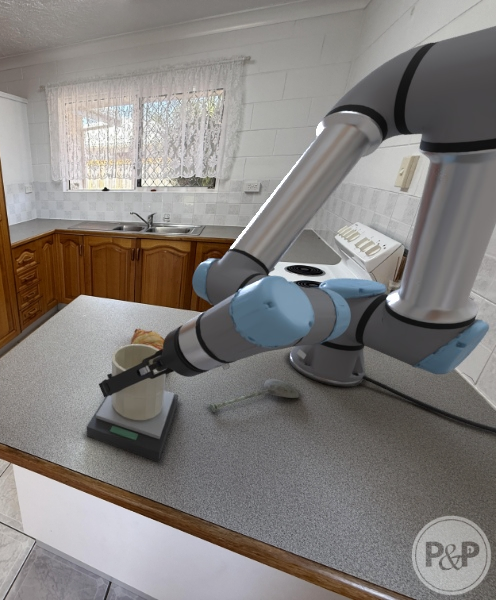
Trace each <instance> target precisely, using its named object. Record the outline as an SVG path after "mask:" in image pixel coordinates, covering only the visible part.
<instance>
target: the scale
mask: <svg viewBox="0 0 496 600" xmlns="http://www.w3.org/2000/svg"><path fill="white" fill-rule="evenodd" d="M178 402H179V394H175V392H172V391H168V390H166V389H165V390H164V401H163V407H162V410H161V412H160V413H159V414H157V415H156V416H155V417H153V418H150V419H147V420H132V419H129V418H126V417H124V416H122V415H121V414H119V413H118V412H117V411H116V410H115V409H114V407H113V405H112V395H111V396H110V395H109V396H107V397H104V399H103V400H102V402H101V404H100V405H99V407H98V409H97V410H96V411H95V413H94V414H93V416H92V418H91V419H90V421H89V422H88V424H87V425H86V437H88V438H91V439H94V440H96V441H100V442H101V443H104V444H108V445H110V446H113V447H116V448H117V449H118V448H119V449H121V450H124V451H127V452H129V453H132V454H135V455H138V456H141V457H143V458H146V459H148V460H151V461H154V462H156V463H160V459H161V456H162V453H163V449H164V447H165V444H166V440H167V437H168V434H169V431H170V428H171V424H172V423H173V422H172V421H173V419H174V415H175V412H176V409H177V406H178Z"/></svg>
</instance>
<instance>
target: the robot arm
mask: <svg viewBox="0 0 496 600" xmlns="http://www.w3.org/2000/svg"><path fill="white" fill-rule="evenodd" d="M315 135H316V137H315V139H314V140H313V141H312V142H311V144H310V145H309V146H308V148H307V149H306V150H305V151H304V153H303V154H302V155H301V157H300V158H299V159H298V160H297V161H296V163H295V164H294V165H293V167H292V168H291V170H289V172H288V173H287V175H286V176H284V178H283V179H282V181H281V182H280V184H279V185H278V186H277V187H276V189H274V191H273V193H271V195H270V197H269V198H268V199H267V200H266V201H265V203H264V204H263V205H262V206H261V207H260V209H259V210H258V212H257V213H256V214H255V216H254V217H253V218H252V219H251V221H250V222H249V223H248V224H247V226H246V227H245V228H244V230H243V231H242V232H241V234H240V235H239V236H238V237H237V238H236V239H235V241H234V242H233V244H232V245H231V246H230V248H229V249H228V250H227V251H226V252H225V254H224V255H223V256H222V257H221V258H213V257H212V258H207V259H206V260H204V261H203V262H201V263H200V264H198V266H197V267H196V269H195V270H194V273H193V275H192V281H191V282H192V283H191V285H192V288H193V291H194V292H195V295H197V296H198V297H200V298H201V299H203V300H204V301H206V302H208V303H209V305H211V306H212V307H211V308H209V309H207V310H206V311H202V312H200V313H199V314H197V315H196V316H194V317H192V318H191V319H189V320H187V321H186V322H184V323H183V324H181V325H180V326H177V327H176V328H174V329H173V330H171V331H169V332H168V333H167V334H166V336H165V338H164V343H163V349H161V350H159V351H157V352H156V353H155V354H154V355H152V356H150V357H148V358H145V359H144V360H143V361H142V362H141V363H140V364H138V365H136V366H134V367H132V368H130V369H128V370H126V371H124V372H122V373H120V374H117V375H115V376H112V372H111V373H108V374H106V376H107V379H103V380H102V381H101V382H99V383H98V386H99V388H100V391H101V394H102V396H103V398H105V397H107V396H109V395H110V396H111V395H112V394H114V393H116V392H119V391H121V390H122V389H124V388H127V387H129V386H131V385H133V384H136V383H138V382H140V381H142V380H145V379H147V378H150V379H154V378H156V377H158V376H161V375H163V374H166V375H169V374H171V373H174V372H175V373H176V374H178V375H180V376H182V377H186V378H191V377H195V376H199V375H202V374H204V373H207V372H209V371H211V370H214V369H217V368H220V367H221V368H222V369H223V370H229V369H230V368H231V365H230V364H231V363H235V362H237V361H240V360H243V359H246V358H249V357H252V356H256V355H259V354H262V353H268V352H272V351H273V352H274V351H279V350H283V349H289V348H292V349H291V351H290V354H289V359H288V361H289V363H290V365H291V366H292V367H293V368H294V369H295V370H296V372H299V373H300V374H301V375H303V376H305V377H307V378H308V379H311V380H313V381H315V382H319V383H322V384H325V385H327V386H328V385H329V386H333V387H342V388H348V387H349V388H351V387H355V386H358V385H360V384H361V383H362V382H363V381H366V382H369V383H371V384H373V385H375V386H378V387H379V388H382V389H384V390H386V391H388V392H389V393H392V394H393V395H396V396H399V397H400V398H402V399H404V400H407V401H409V402H412V403H414V404H416V405H418V406H420V407H423V408H425V409H428V410H430V411H432V412H434V413H437V414H439V415H442V416H445V417H447V418H450V419H452V420H455V421H457V422H460V423H463V424H466V425H469V426H472V427H475V428H478V429H482V430H485V431H488V432H491V433H495V434H496V427H494V426H490V425H487V424H483V423H480V422H476V421H473V420H471V419H467V418H464V417H461V416H460V415H459V416H458V415H456V414H453V413H450V412H448V411H445V410H442V409H440V408H438V407H436V406H433V405H430V404H428V403H426V402H424V401H421V400H419V399H416V398H415V397H412V396H410V395H407V394H405V393H404V392H401V391H399V390H398V389H397V390H396V389H394V388H393V387H392V386H391V387H390V386H388V385H386V384H384V383H381V382H380V381H377V380H375V379H373V378H371V377H369V376H366V375H365V374H366V367H365V356H364V348H365V347H367V348H368V349H369V348H370V349H372V350H374V351H377V352H379V353H381V354H383V355H386V356H388V357H390V358H393V359H395V360H397V361H400V362H402V363H405V364H407V365H409V366H411V367H412V368H416V369H417V368H418V369H420V370H423V371H426V372H428V373H431V374H433V375H446V374H449V373H451V372H452V371H454V370H455V369H456V368H457V367H458V366H460V365H461V364H462V363H463V362H464V361H465V360H466V359H467V358H468V356H470V355H471V353H473V351H475V349H476V348H477V346H479V344H480V343H481V342H482V341H483V339H484V338H485V336H486V335H487V333H488V332H489V329H490V324H489V323H488V322H487V321H484V320H483V319H478V318H476V317H477V315H478V313H479V306H478V304H477V303H476V301H475V300H473V299H472V298H470V295H471V292H472V290H473V287H474V285H475V282H476V279H477V276H478V274H479V270H480V267H481V265H482V264H483V260H484V258H485V255H486V252H487V249H488V246H489V243H490V242H491V241H490V240H491V238H492V236H493V233H494V230H495V227H496V25H494V26H490V27H485V28H483V29H479V30H476V31H472V32H468V33H464V34H461V35H457V36H453V37H449V38H446V39H442V40H439V41H435V42H428V43H424V44H421V45H418V46H415V47H412V48H410V49H408V50H406V51H403V52H401V53H399V54H397V55H396V56H394V57H393V58H390V59H389V60H387V61H385V62H383V64H381V65H380V66H378V67H377V68H375V69H374V70H372V71H371V72H370V73H368V74H367V75H366V76H364V77H363V78H362V79H361V80H359V81H358V82H357V83H356V84H354V86H352V88H350V89H349V90H348V91H347V92H346V93H345V94H343V96H342V97H341V98H340V99H339V100H337V102H336V103H335V104H334V105H333V106H332V107H331V109H330V110H329V111H328V112H327V113H326V114H325V116H324V117H323V119H322V120H321V121H320V122H319V123H318V125H317V128H316V132H315ZM409 135H421V138H420V143H419V148H418V151H419V152H420V153H421V154H422V155H423V156H425V157H426V158H428V159H429V163H428V167H427V171H426V172H427V173H426V177H425V180H424V185H423V189H422V193H421V196H420V197H421V198H420V202H419V206H418V210H417V215H416V219H415V222H414V227H413V231H412V236H411V241H410V244H409V249H408V253H407V257H406V261H405V265H404V269H403V274H402V276H401V277H402V278H401V281H400V286H399V288H398V289H395V290H393V291H391V292H390V293H389V294H387V291H388V289H387V286H386V285H385V284H384V283H381V282H379V281H375V280H369V279H362V278H349V277H347V278H346V277H343V278H342V277H340V278H331V279H327V280H324V281H322V282H320V284H319V285H318V286H314V287H311V286H309V287H304V286H300V285H298V284H297V283H295V282H293V281H290V280H287V278H286V277H284V276H281V275H270V274H271V272H272V271H273V269H275V267H276V266H277V264H279V262H280V261H281V259H282V258H283V257H284V256H285V254H286V253H287V252H288V251H289V249H290V248H291V247H292V246H293V244H294V243H295V242H296V240H297V239H298V238H299V237H300V235H302V233H303V232H304V230H305V229H306V228H307V227H308V226H309V224H310V223H311V222H312V221H313V220H314V218H315V216H317V214H318V213H319V211H320V210H321V209H322V208H323V207H324V206H325V204H326V203H327V202H328V200H329V199H330V198H331V196H332V195H333V194H334V193H335V191H336V190H337V189H338V188H339V187H340V185H341V184H342V183H343V181H344V180H345V179H346V178H347V176H348V175H349V174H350V172H352V170H353V169H354V168H355V167H356V165H357V164H358V162H360V160H361V159H362V158H365V157H368V156H369V155H371V154H373V153H374V152H376V150H378V148H379V147H380V146H381V145H382V143H383V142H385V141H386V140H388V139H391V138H393V137H398V136H409ZM155 357H156V358H155ZM153 358H154V359H153ZM151 359H153V361H152V362H153V364H150V363H149V361H150V360H151ZM154 369H156V370H157V371H161V372H159V373H157V374H155V373H154V371H153V370H154ZM165 369H166V370H165ZM162 370H164V371H162Z"/></svg>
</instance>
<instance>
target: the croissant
mask: <svg viewBox="0 0 496 600" xmlns="http://www.w3.org/2000/svg"><path fill="white" fill-rule="evenodd" d="M164 340H165V338H164V337H163V336H162V335H160V334H159V333H157V332H156V331H153V330H145V329H141V328H136V329H134V332H133V335H132V336H131V340H130V344H144V345H149V346H152V347H155V348H157V349H159V350H161V349H163V343H164Z"/></svg>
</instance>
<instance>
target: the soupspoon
mask: <svg viewBox="0 0 496 600" xmlns="http://www.w3.org/2000/svg"><path fill="white" fill-rule="evenodd" d="M263 387H264V390H259V391H256V392H252V393H247V394H246V395H242V396H240V397H237V398H233V399H230V400H226V401H221V402H218V403H214V404H212V403H210V404H209V407H210V409H211V411H212V412H213V413H216V410H219V409H221V408H222V407H226V406H227V405H231V404H234V403H237V402H242V401H244V400H247V399H248V400H249V399H251V398H254V397H258V396H263V395H266V394H268V395H272V396H275V397H281V398H282V397H283V398H287V399H288V398H290V399H293V398H294V399H295V398H300V394H299V392H298V391H297V390H296V389H295V388H294V387H293V386H292V385H290V384H289V383H287V382H286V381H284V380H281V379H276V378H269V379H266V380H265V381H264V384H263Z"/></svg>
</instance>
